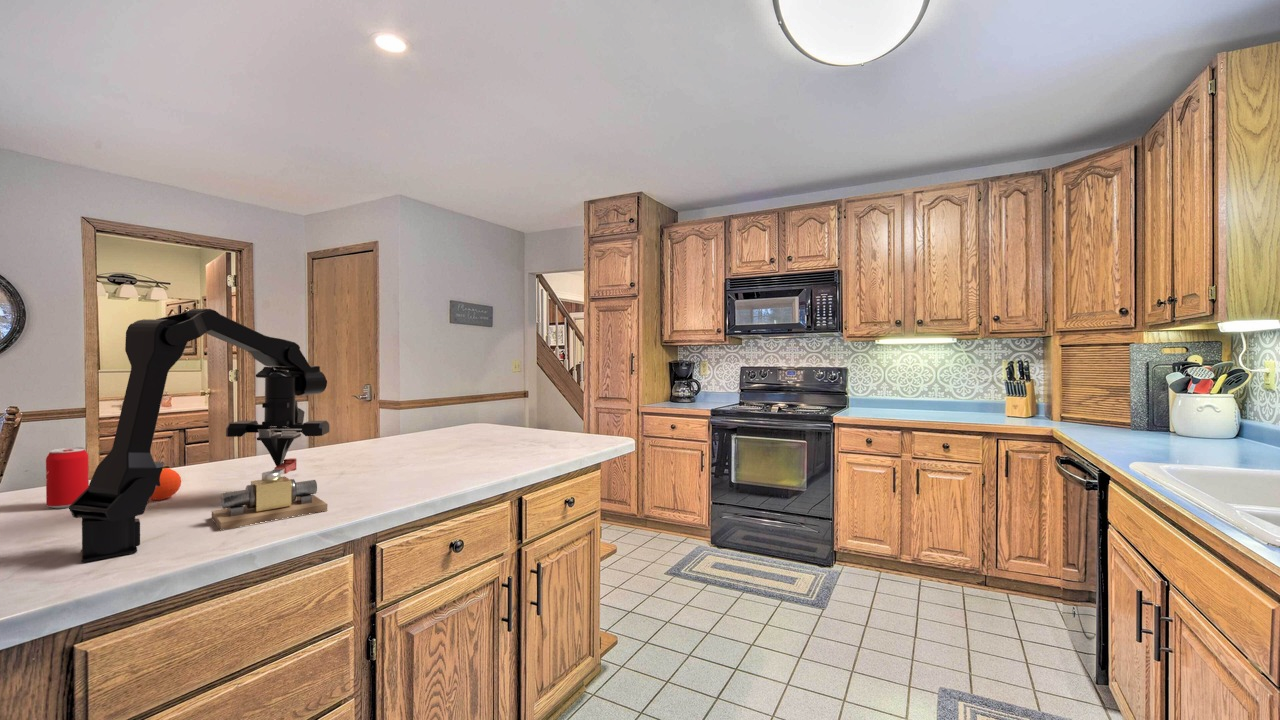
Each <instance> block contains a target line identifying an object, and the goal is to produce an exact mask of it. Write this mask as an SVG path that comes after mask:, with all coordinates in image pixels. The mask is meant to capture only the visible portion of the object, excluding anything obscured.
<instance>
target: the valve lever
mask: <svg viewBox="0 0 1280 720" xmlns="http://www.w3.org/2000/svg"><path fill="white" fill-rule="evenodd" d="M294 471H297V458H294V457H293V458H284V461H283V463H282V464H280V465H278V466H276V465H275V467H274V468H273V469H272V470H270V471H264V472H262V473H261V480H262V481H275V480H279V479H281V477H282V475H286V474H288V473H289V472H294Z"/></svg>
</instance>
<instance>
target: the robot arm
mask: <svg viewBox="0 0 1280 720" xmlns="http://www.w3.org/2000/svg"><path fill="white" fill-rule="evenodd" d="M205 334H206V335H209V336H211V337H213V338H216V339H218V340H221V341H222V342H225V343H227V344H229V345H232V346H234V347H237V348H238V349H242V350H244V351H246V352H248V353H249V354H251V356H252V358H253V359H255V360H256V361H257V362H258V363H261V364H262V365H264V366H263V368H262V369H261V370H260V371H259V372H257V373H256V374H255V378H260V379H261V378H262V379H264V402H262V406H261V407H262V409H263V408H264V415H263V416H264V417H263V418H264V419H263V420H264V421H262V422H261V423H260V424H259V423H258V421H257V420H238V421H234V422H230V423H229V424H227V426H226V428H225V437H227V438H230V437H232V438H233V437H234V438H237V437H239V438H240V437H241V438H242V437H243V436H244V435H246V434H249V433H253V434H254V433H255V434H256V433H258V437H256V441H261V443H262V444H263V445H264V447H265V448H266V449H267V450H266V451H268V453H269V455H270V457H271V459H272V461H273V462H274V464H275V467H276V466H278V465H280V464H282V463H284V460H285V459H286V456H287V453H288V451H289V449H290V447H291V445H292V443H293V441H294V440H296V439H298V438H300V437H301V436H302V434H303V435H304V436H305V437H321V436H324V435H327V434H329V433H330V423H329V422H328V421H327V420H308V421H305V422H304V418H305V411H304V410H302V408H299V406H298V400H296V396H297V397H298V396H310V395H317V394H318V395H319V394H323V392H324V391H325V390H326V388H327V386H328V380H327V377H326V375H325V374H324V373H323V372H322V371H321V367H320V365H310V364H309V362H308V360H307V359H306V357H305V356H304V354H303V352H302V351H301V347H300V345H299V344H298V343H297V342H295V341H292V340H287V339H283V338H280V337H279V338H278V337H274V336H268V335H265V334H263V333H261V332H258V331H256V330H254V329H252V328H250V327H247V326H245V325H243V324H241V323H239V322H237V321H235V320H234V319H230V318H229V317H227V316H224V315H223V314H221V313H220V312H218V311H217V310H215V309H213V308H191V309H189V310H187V311H184V312H181V313H178V314H177V313H176V314H173V315H168V316H164V317H160V318H156V319H153V318H152V319H146V318H145V319H139V320H136V321H134V322H133V323H130V324H129V326H127V328H126V331H125V347H124V348H125V349H124V351H125V354H126V356H127V359H128V361H129V364H130V371H129V375H128V381H127V385H126V390H125V393H124V398H123V400H122V401H123V402H122V405H121V411H120V414H119V419H118V423H117V427H116V431H115V435H114V440H113V442H112V443H113V444H112V447H111V450H110V451H109V453H107V455H106V456H104V458H103V459H102V460H101V461H100V462H99V463H98V465H97V466H96V468H95V470H94V472H93V475H92V477H91V479H90V481H89V487H88V488H87V489H86V490H85V491H84V492H83V493H82V494H81V495H80V496H79V497H78V498H77V499H76V500H75V501H74V502H73V503H72V504H71V505H70V506H69V508H68V510H69V512H70V514H71V515H72V517H73V518H75V519H77V518H80V519H81V549H80V562H81V563H87V562H92V561H93V562H94V561H98V560H103V559H108V558H113V557H114V558H115V557H119V556H124V555H125V556H126V555H130V554H134V553H137V552H138V547H139V546H141V521H140V519H139V518H138V517H137V516H141V515H143V514H144V513H145V511H146V507H147V506H148V502H149V500H150V497H151V496H152V495H153V493H154V491H155V488H156V486H160V475H161V472H162V469H163V468H164V463H163V462H162V461H155V460H154V458H153V455H152V453H151V450H152V444H153V440H154V436H155V433H156V432H155V431H156V428H157V423H158V418H159V413H160V410H161V406H162V405H161V404H162V400H163V398H164V397H163V396H164V392H165V387H166V383H167V379H168V374H169V372H170V370H171V369H172V368H173V367H174V365H176V363H177V362H178V361H179V360H180V359H181V358H182V356H183V354H184V351H185V350H186V347H187V344H188V342H191V341H194V340H195V339H199V338H201V337H202V336H203V335H205Z"/></svg>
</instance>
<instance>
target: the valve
mask: <svg viewBox="0 0 1280 720" xmlns="http://www.w3.org/2000/svg"><path fill="white" fill-rule="evenodd" d="M317 491H318V483H317V480H316V479H311V480H305V481H304V480H303V481H297V482H296V481H295V479H294V478H288V477H287V476H281V479H279V480H275V481H262V479H257V480H251V481H250V484H248V485H246V486H245V489H242V490H236V491H228V492H222V493H221V496H220V502H221V504H220V505H221V509H227V513H228V514H229V515H230V516H231V517H232V516H237V515H243V506H247V508H248V509H249V508H253V509H254V510H255V511H256V512H257V511H263V510H269V509H275V508H281V507H287V506H291V502H292V501H295V500H296V497H297V502H299V503H300V504H301V505H302V504H307V503H312V495H316V494H317Z"/></svg>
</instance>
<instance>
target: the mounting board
mask: <svg viewBox="0 0 1280 720" xmlns="http://www.w3.org/2000/svg"><path fill="white" fill-rule="evenodd" d="M311 495H312V503H307V504H302V505H301V504H300V503H299V502H297V497H296V500H295V501H292V502H291V506H287V507H281V508H275V509H269V510H263V511H257V512H256V511H255V510H254V509H253V508H249V509H248V508H247V506H246V505H243V515H237V516H232V517H231V516H230V515H229V514H228V513H227V508H224V509H223V508H220V509H217V510H211V520H212V519H213V520H214V521H215V522H214V521H213V520H212V521H213V522H214V524H215V525H216V524H217V525H218V526H217V525H216V526H217V528H218V529H219V528H220V529H221V530H222V531H224V530H223V529H228V530H231V529H230V528H233V529H236V528H235V527H238V528H241V527H240V526H244V527H246V526H245V525H249V526H251V525H250V524H255V523H260V522H265V521H271V520H275V519H282V518H287V517H292V516H298V515H302V514H309V513H314V514H316V513H315V512H319V513H323V511H325V512H327V511H328V503H327V502H325V501H323V499H320V498H319V497H317V496H316V495H315V494H311ZM321 511H322V512H321ZM309 515H310V514H309ZM298 517H299V516H298ZM292 518H293V517H292ZM287 519H288V518H287ZM282 520H283V519H282ZM271 522H272V521H271ZM265 523H266V522H265ZM260 524H261V523H260ZM255 525H256V524H255ZM220 529H219V530H220ZM221 530H220V531H221Z"/></svg>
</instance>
